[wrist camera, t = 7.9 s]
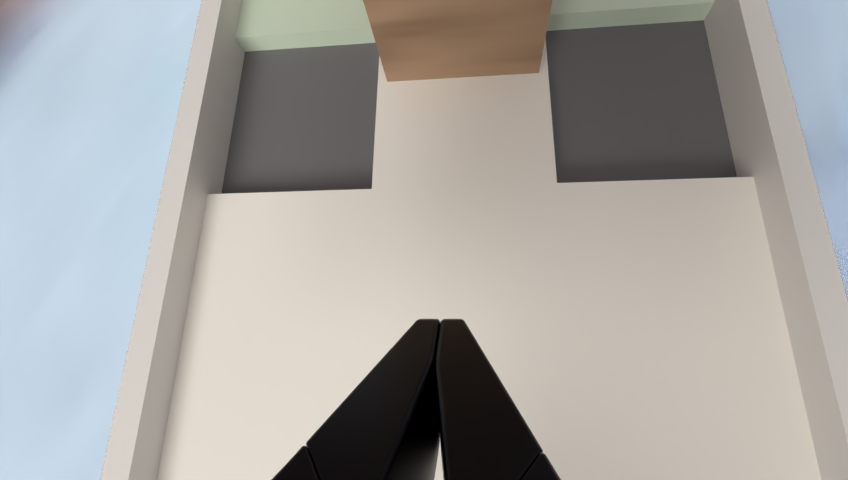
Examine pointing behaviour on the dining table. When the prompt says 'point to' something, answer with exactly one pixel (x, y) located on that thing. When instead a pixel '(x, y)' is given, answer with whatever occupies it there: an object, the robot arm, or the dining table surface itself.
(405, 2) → the walnut block
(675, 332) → the white recessed tray
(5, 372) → the dining table surface
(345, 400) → the robot arm
